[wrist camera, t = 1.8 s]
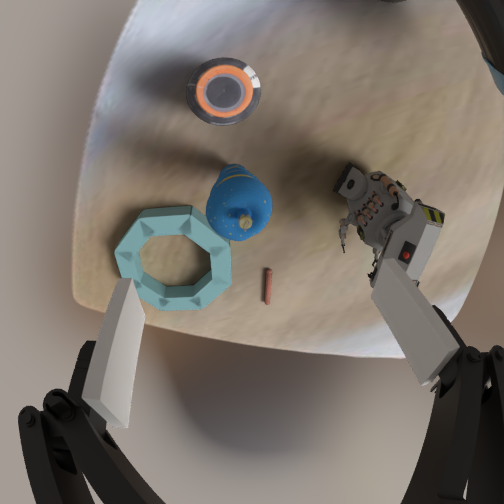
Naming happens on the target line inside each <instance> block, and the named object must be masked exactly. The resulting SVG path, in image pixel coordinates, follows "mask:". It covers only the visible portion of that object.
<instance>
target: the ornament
mask: <svg viewBox="0 0 504 504" xmlns="http://www.w3.org/2000/svg"><path fill="white" fill-rule="evenodd" d="M271 213H272V199H271V195H270V193H269V191H268V189H267V188H266V187H265V186H264V185H263V184H262V183H261V182H260V181H259V180H258V179H257V177H256V176H254V175H253V174H251V173H250V172H249V171H247V170H246V169H245V168H244V167H243V166H241V165H238V164H231V165H228V166H226V167H225V168H224V169H223V170H222V171H221V173H220V175H219V178H218V179H217V181H216V183H215V184H214V186H213V188H212V190H211V193H210V197H209V199H208V201H207V206H206V217H207V220H208V223H209V225H210V226H211V228H212V229H213V230H214V231H215V232H216V233H217V234H218V235H220V236H222V237H224V238H226V239H229V240H234V241H243V240H246V239H248V238H250V237H251V236H253V235H255V234H257V233H259V232H260V231H261V230H262V229H263V228H264V227H265V226H266V224H267V223H268V221H269V219H270V216H271Z"/></svg>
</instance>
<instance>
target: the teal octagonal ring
mask: <svg viewBox="0 0 504 504" xmlns="http://www.w3.org/2000/svg"><path fill="white" fill-rule="evenodd" d="M177 234H185V235H186V236H187V237H189V238H190V239H191V240H193V241H194V242H195V243H197V244H198V245H199V246H201V247H202V248H203V249H205V250H206V251H208V252H209V253H210V258H211V270H210V271H209V272H208V273H207V274H206V275H204V276H203V277H202V278H201V279H200V280H199V281H198V282H197V283H196V284H195V285H191V286H169V287H166V286H165V285H163V284H162V283H160V282H158V281H157V280H155V279H154V278H152V277H151V276H149V275H148V274H146V273H145V272H144V271H143V268H142V264H141V260H140V256H139V250H140V249H141V247H142V246H143V245H144V244H145V242H146V241H147V240H148V239H149V238H150V236H161V235H177ZM114 253H115V257H116V260H117V264H118V267H119V270H120V273H121V277H122V278H132V279H133V282H134V285H135V288H136V291H137V294H138V297H139V298H141V299H142V300H144V301H145V302H147V303H149V304H150V305H152V306H154V307H155V308H157V309H159V310H162V311H169V310H196V309H203V308H204V307H206V306H207V305H208V304H209V303H210V302H211V301H213V300H214V299H215V298H216V297H217V296H219V295H220V294H221V293H222V292H223V291H224V290H226V289H227V288H228V287H229V286H230V285H231V284H232V283H231V257H230V240H229V239H226V238H224V237H222V236H220V235H218V234H217V233H216V232H215V231H214V230H213V229H212V228H211V226H210V225H209V223H208V220H207V217H206V216H205V215H203V214H202V213H201V212H200V211H198V210H197V209H196V208H195V207H191V206H179V207H165V208H153V209H144V210H143V211H142V212H141V213H140V215H139V216H138V217H137V218H136V220H135V221H134V222H133V224H132V225H131V226H130V228H129V229H128V230H127V232H126V233H125V235H124V236H123V237H122V239H121V240H120V241H119V243H118V245H117V247H116V249H115V252H114Z"/></svg>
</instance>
